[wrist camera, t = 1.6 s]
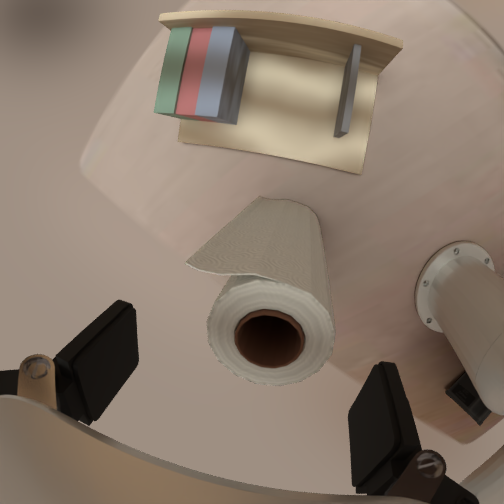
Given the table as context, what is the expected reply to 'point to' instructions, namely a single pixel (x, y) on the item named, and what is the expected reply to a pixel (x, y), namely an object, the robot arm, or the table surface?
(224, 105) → the book rack
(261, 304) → the paper towel roll
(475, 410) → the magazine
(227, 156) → the table surface
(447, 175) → the table surface
